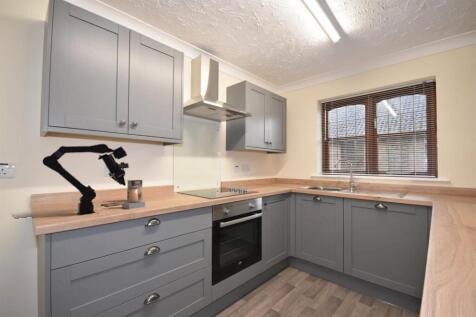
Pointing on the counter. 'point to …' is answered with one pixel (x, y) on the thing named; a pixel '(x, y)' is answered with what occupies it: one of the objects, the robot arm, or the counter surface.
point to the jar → (133, 194)
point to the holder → (133, 205)
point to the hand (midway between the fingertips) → (123, 185)
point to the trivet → (112, 204)
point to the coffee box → (135, 183)
